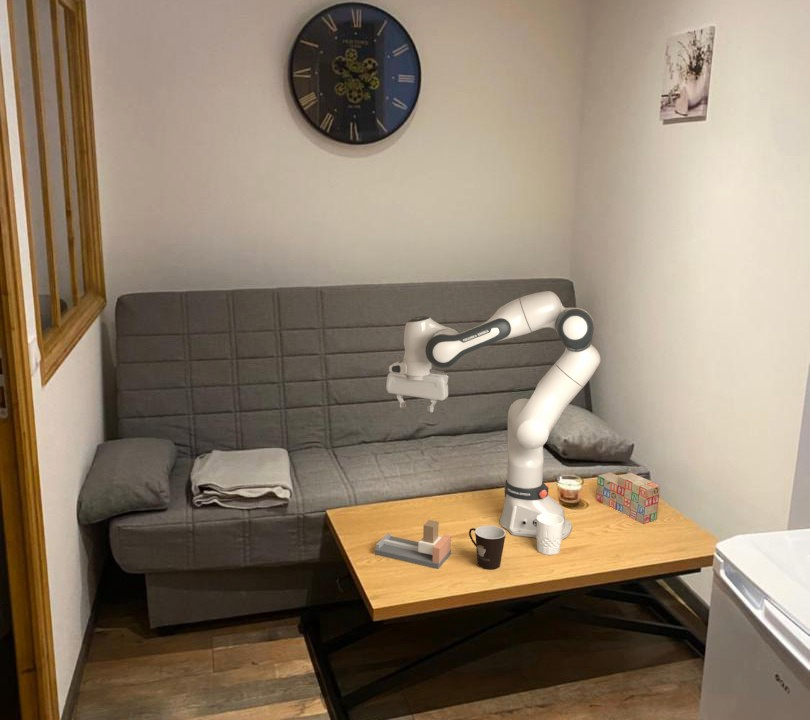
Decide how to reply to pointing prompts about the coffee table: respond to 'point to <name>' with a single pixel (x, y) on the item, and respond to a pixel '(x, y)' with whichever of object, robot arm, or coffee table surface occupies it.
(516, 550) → the coffee table surface
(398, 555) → the track
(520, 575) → the coffee table surface
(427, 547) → the shuttle
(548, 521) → the white cup
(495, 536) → the coffee mug
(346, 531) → the coffee table surface
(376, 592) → the coffee table surface
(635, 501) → the stack of blocks
